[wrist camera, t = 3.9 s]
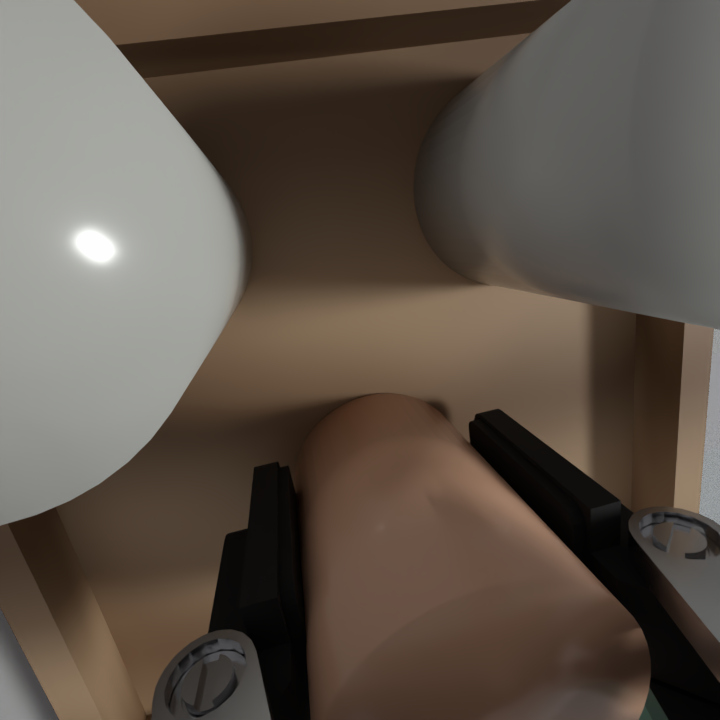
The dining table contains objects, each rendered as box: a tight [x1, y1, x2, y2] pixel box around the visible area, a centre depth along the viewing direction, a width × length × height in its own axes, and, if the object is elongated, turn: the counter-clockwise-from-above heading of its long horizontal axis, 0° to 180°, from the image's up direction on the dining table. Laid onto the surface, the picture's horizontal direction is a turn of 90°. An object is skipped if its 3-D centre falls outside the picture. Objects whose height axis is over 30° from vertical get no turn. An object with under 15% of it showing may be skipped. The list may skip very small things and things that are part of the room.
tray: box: [0, 0, 714, 720], centre depth 10 cm, size 16×16×2 cm
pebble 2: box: [414, 0, 720, 330], centre depth 7 cm, size 4×4×6 cm
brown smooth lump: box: [294, 393, 651, 720], centre depth 8 cm, size 4×4×6 cm
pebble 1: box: [0, 0, 252, 526], centre depth 6 cm, size 4×4×6 cm
